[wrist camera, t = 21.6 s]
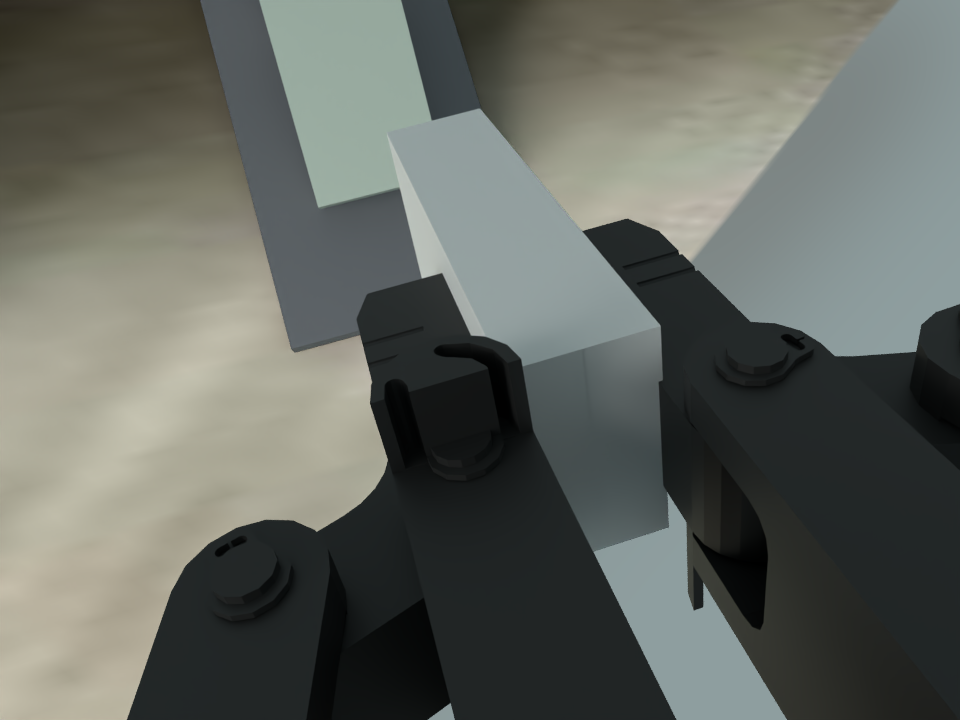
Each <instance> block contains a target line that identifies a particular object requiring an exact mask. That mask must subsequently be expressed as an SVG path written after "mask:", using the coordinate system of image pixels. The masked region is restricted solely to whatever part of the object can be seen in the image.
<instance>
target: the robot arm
mask: <svg viewBox="0 0 960 720" xmlns="http://www.w3.org/2000/svg"><path fill="white" fill-rule="evenodd" d="M386 133H387V137H388V141H389V145H390V149H391V153H392V157H393V162H394V166H395V170H396V174H397V178H398V182H399V186H400V190H401V195H402V199H403V203H404V207H405V211H406V215H407V219H408V224H409V228H410V232H411V236H412V240H413V244H414V248H415V252H416V257H417V261H418V265H419V269H420V273H421V277H422V279H418V280H415V281H411V282H408V283H404V284H400V285H397V286H393V287H390V288H386V289H382V290H379V291H375V292H372V293H368V294H367V295H366V297H365V300H364V302H363V304H362V307H361V309H360V311H359V314H358V316H357V319H356V320H357V324H358V328H359V332H360V336H361V340H362V344H363V347H364V352H365V355H366V359H367V363H368V367H369V371H370V375H371V379H372V384H371V398H370V405H371V408H372V411H373V414H374V417H375V420H376V424H377V427H378V430H379V433H380V436H381V439H382V442H383V445H384V449H385V452H386V455H387V458H388V462H387V466H386V470H385V473H384V475H383V476H382V478H381V480H380V481H379V483H378V485H377V486H376V488H375V489H374V490H373V491H372V492H371V494H370V495H369V496H368V497H367V498H366V499H365V500H364V501H363V502H362V503H361V504H360V505H358V506H357V507H355V508H354V509H353V510H351V511H350V512H348V513H347V514H346V515H344V516H343V517H341V518H340V519H338V520H336V521H334V522H333V523H331V524H329V525H328V526H326V527H324V528H323V529H321V530H319V531H318V532H316V531H315V530H313V529H311V528H309V527H306V526H304V525H302V524H300V523H297V522H295V521H290V520H263V521H260V522H256V523H253V524H249V525H245V526H242V527H238V528H235V529H234V530H232V531H230V532H228V533H227V534H225V535H223V536H221V537H220V538H218V539H216V540H214V541H213V542H211V543H209V544H208V545H207V546H206V547H205V548H204V549H203V550H202V551H201V552H200V553H199V554H198V555H197V556H196V557H194V558H193V559H192V560H191V561H190V562H189V563H188V564H187V565H186V566H185V568H184V570H183V572H182V574H181V575H180V577H179V579H178V581H177V582H176V584H175V586H174V588H173V590H172V591H171V594H170V597H169V600H168V603H167V606H166V609H165V611H164V614H163V617H162V620H161V623H160V626H159V629H158V632H157V635H156V637H155V640H154V643H153V646H152V649H151V652H150V655H149V658H148V661H147V663H146V666H145V669H144V672H143V675H142V678H141V681H140V684H139V687H138V689H137V692H136V695H135V698H134V701H133V704H132V707H131V710H130V713H129V715H128V718H127V720H428V719H429V718H430V717H432V716H433V715H435V714H436V713H437V712H439V711H440V710H441V709H443V708H444V707H445V706H447V705H448V704H450V703H451V706H452V710H453V714H454V718H455V720H676V718H675V716H674V715H673V712H672V710H671V708H670V706H669V704H668V702H667V700H666V698H665V696H664V694H663V692H662V690H661V688H660V686H659V684H658V682H657V680H656V678H655V676H654V674H653V672H652V670H651V668H650V666H649V664H648V662H647V660H646V658H645V656H644V654H643V651H642V650H641V647H640V645H639V644H638V641H637V639H636V637H635V635H634V634H633V631H632V629H631V627H630V625H629V623H628V621H627V619H626V617H625V615H624V613H623V611H622V609H621V607H620V605H619V603H618V601H617V599H616V597H615V595H614V593H613V591H612V589H611V587H610V585H609V583H608V581H607V579H606V577H605V575H604V573H603V571H602V569H601V567H600V565H599V563H598V561H597V559H596V557H595V554H594V553H593V552H594V551H596V550H600V549H603V548H606V547H609V546H612V545H615V544H618V543H621V542H624V541H627V540H631V539H634V538H637V537H640V536H643V535H646V534H649V533H652V532H656V531H659V530H662V529H665V528H668V527H669V523H668V497H667V492H668V494H669V495H670V497H671V498H672V500H673V501H674V503H675V505H676V506H677V508H678V509H679V511H680V513H681V514H682V516H683V517H684V519H685V520H686V522H687V561H688V562H687V564H688V565H687V566H688V594H689V597H690V600H691V603H692V606H693V609H694V610H696V609H699V608H702V607H703V582H704V584H705V586H706V587H707V589H708V591H709V592H710V594H711V596H712V597H713V599H714V600H715V602H716V604H717V605H718V607H719V609H720V610H721V612H722V613H723V615H724V616H725V619H726V620H727V622H728V623H729V625H730V627H731V628H732V630H733V632H734V633H735V635H736V637H737V638H738V640H739V642H740V643H741V645H742V646H743V648H744V649H745V651H746V653H747V655H748V656H749V658H750V660H751V661H752V663H753V665H754V666H755V668H756V669H757V671H758V673H759V674H760V676H761V678H762V679H763V681H764V683H765V684H766V686H767V687H768V689H769V691H770V692H771V694H772V696H773V697H774V699H775V701H776V702H777V704H778V706H779V707H780V709H781V711H782V712H783V714H784V715H785V717H786V719H787V720H960V304H959V305H956V306H953V307H951V308H947V309H944V310H942V311H939V312H936V313H935V314H933V315H932V316H931V317H930V318H929V319H928V320H927V321H925V322H924V323H923V324H922V325H921V330H920V335H919V341H918V346H917V351H916V352H910V353H895V354H881V355H868V356H853V357H852V356H849V357H848V356H847V357H846V356H841V357H840V356H839V357H837V356H834V355H833V354H832V353H831V352H830V351H828V350H827V349H826V348H825V347H824V346H823V345H822V344H821V343H819V342H818V341H816V340H815V339H813V338H811V337H810V336H808V335H807V334H805V333H803V332H802V331H800V330H796V329H793V328H789V327H785V326H782V325H779V324H775V323H758V322H750V321H749V320H748V319H747V318H746V317H745V316H744V315H743V314H742V313H741V312H740V311H739V310H738V309H737V308H736V307H735V306H734V305H733V304H732V303H731V302H730V301H729V300H728V299H727V298H726V297H725V296H724V295H723V294H722V293H721V292H720V291H719V290H718V289H717V288H716V287H715V286H714V285H713V284H712V283H711V282H710V281H708V279H707V278H705V277H704V275H702V273H701V272H700V271H695V268H694V266H693V265H692V264H691V263H690V262H689V261H688V260H687V259H686V258H685V257H684V256H683V255H682V254H681V255H679V252H678V250H677V249H676V248H675V247H674V246H673V245H672V244H671V243H670V242H669V241H668V240H667V239H666V238H665V237H664V236H663V235H662V234H661V233H660V232H659V231H657V230H655V229H652V228H650V227H647V226H644V225H642V224H639V223H637V222H634V221H632V220H629V219H624V220H621V221H617V222H613V223H610V224H606V225H603V226H599V227H595V228H592V229H588V230H584V231H581V229H580V228H579V227H578V226H577V225H576V223H575V222H574V221H573V220H572V219H571V217H570V216H569V215H568V214H567V213H566V211H565V210H564V209H563V208H562V207H561V205H560V204H559V203H558V202H557V201H556V199H555V198H554V197H553V196H552V195H551V193H550V192H549V191H548V190H547V188H546V187H545V186H544V185H543V184H542V182H541V181H540V180H539V179H538V178H537V176H536V175H535V174H534V173H533V172H532V170H531V169H530V168H529V167H528V166H527V164H526V163H525V162H524V161H523V160H522V158H521V157H520V156H519V155H518V154H517V152H516V151H515V150H514V149H513V148H512V146H511V145H510V144H509V143H508V142H507V140H506V139H505V138H504V137H503V136H502V134H501V133H500V132H499V131H498V130H497V128H496V127H495V126H494V125H493V124H492V122H491V121H490V120H489V119H488V118H487V116H486V115H485V114H484V113H483V111H482V110H481V109H480V108H479V109H476V110H472V111H468V112H464V113H460V114H456V115H452V116H448V117H444V118H440V119H437V120H433V121H429V122H425V123H421V124H417V125H413V126H409V127H405V128H401V129H398V130H394V131H390V132H386Z"/></svg>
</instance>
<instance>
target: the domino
mask: <svg viewBox="0 0 960 720" xmlns="http://www.w3.org/2000/svg"><path fill="white" fill-rule="evenodd" d="M259 1H260V5H261V8H262V12H263V15H264V19H265V22H266V26H267V29H268V33H269V36H270V40H271V43H272V47H273V50H274V54H275V57H276V61H277V65H278V68H279V72H280V75H281V79H282V82H283V86H284V89H285V93H286V96H287V100H288V103H289V107H290V110H291V114H292V117H293V121H294V124H295V128H296V131H297V135H298V138H299V142H300V145H301V149H302V152H303V156H304V159H305V163H306V166H307V170H308V173H309V177H310V180H311V184H312V187H313V191H314V194H315V198H316V201H317V205H318V208H320V209H323V208H327V207H331V206H335V205H339V204H343V203H347V202H351V201H355V200H359V199H363V198H366V197H370V196H374V195H378V194H382V193H386V192H390V191H394V190H398V189H400V186H399V182H398V178H397V174H396V170H395V166H394V162H393V157H392V153H391V149H390V145H389V141H388V137H387V133H386V132H390V131H394V130H398V129H401V128H405V127H409V126H413V125H417V124H421V123H425V122H429V121H432V120H431V116H430V112H429V108H428V104H427V100H426V96H425V92H424V88H423V84H422V80H421V76H420V72H419V69H418V65H417V61H416V57H415V53H414V49H413V45H412V41H411V37H410V33H409V29H408V25H407V21H406V17H405V13H404V10H403V6H402V2H401V0H259Z"/></svg>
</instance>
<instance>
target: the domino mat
mask: <svg viewBox="0 0 960 720" xmlns="http://www.w3.org/2000/svg"><path fill="white" fill-rule="evenodd" d="M200 1H201V5H202V9H203V13H204V17H205V20H206V24H207V28H208V32H209V36H210V40H211V43H212V47H213V51H214V55H215V59H216V63H217V66H218V70H219V74H220V78H221V82H222V85H223V89H224V93H225V97H226V101H227V105H228V108H229V112H230V116H231V120H232V124H233V128H234V131H235V135H236V139H237V143H238V147H239V151H240V154H241V158H242V162H243V166H244V170H245V174H246V177H247V181H248V185H249V189H250V193H251V197H252V200H253V204H254V208H255V212H256V216H257V219H258V223H259V227H260V231H261V235H262V239H263V242H264V246H265V250H266V254H267V258H268V262H269V265H270V269H271V273H272V277H273V281H274V285H275V288H276V292H277V296H278V300H279V304H280V308H281V311H282V315H283V319H284V323H285V327H286V330H287V334H288V338H289V342H290V346H291V349H292V350H293V351H294V352H299V351H302V350H306V349H310V348H313V347H317V346H321V345H324V344H328V343H332V342H335V341H339V340H343V339H346V338H350V337H354V336H357V335H360V332H359V328H358V324H357V320H356V319H357V316H358V314H359V311H360V309H361V307H362V304H363V302H364V300H365V297H366V295H367V294H368V293H372V292H375V291H379V290H382V289H386V288H390V287H393V286H397V285H400V284H404V283H408V282H411V281H415V280H418V279H422V277H421V273H420V269H419V265H418V261H417V257H416V252H415V248H414V244H413V240H412V236H411V232H410V228H409V224H408V219H407V215H406V211H405V207H404V203H403V199H402V195H401V190H400V189H398V190H394V191H390V192H386V193H382V194H378V195H374V196H370V197H366V198H363V199H359V200H355V201H351V202H347V203H343V204H339V205H335V206H331V207H327V208H323V209H320V208H318V205H317V201H316V198H315V194H314V191H313V187H312V184H311V180H310V177H309V173H308V170H307V166H306V163H305V159H304V156H303V152H302V149H301V145H300V142H299V138H298V135H297V131H296V128H295V124H294V121H293V117H292V114H291V110H290V107H289V103H288V100H287V96H286V93H285V89H284V86H283V82H282V79H281V75H280V72H279V68H278V65H277V61H276V57H275V54H274V50H273V47H272V43H271V40H270V36H269V33H268V29H267V26H266V22H265V19H264V15H263V12H262V8H261V5H260V1H259V0H200ZM401 2H402V6H403V10H404V13H405V17H406V21H407V25H408V29H409V33H410V37H411V41H412V45H413V49H414V53H415V57H416V61H417V65H418V69H419V72H420V76H421V80H422V84H423V88H424V92H425V96H426V100H427V104H428V108H429V112H430V116H431V120H432V121H433V120H437V119H440V118H444V117H448V116H452V115H456V114H460V113H464V112H468V111H472V110H476V109H479V108H480V109H481V106H480V103H479V100H478V97H477V93H476V90H475V87H474V84H473V81H472V77H471V74H470V71H469V68H468V65H467V61H466V58H465V55H464V52H463V49H462V45H461V42H460V39H459V36H458V33H457V29H456V26H455V23H454V20H453V17H452V13H451V10H450V7H449V4H448V1H447V0H401ZM481 110H482V109H481Z"/></svg>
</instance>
